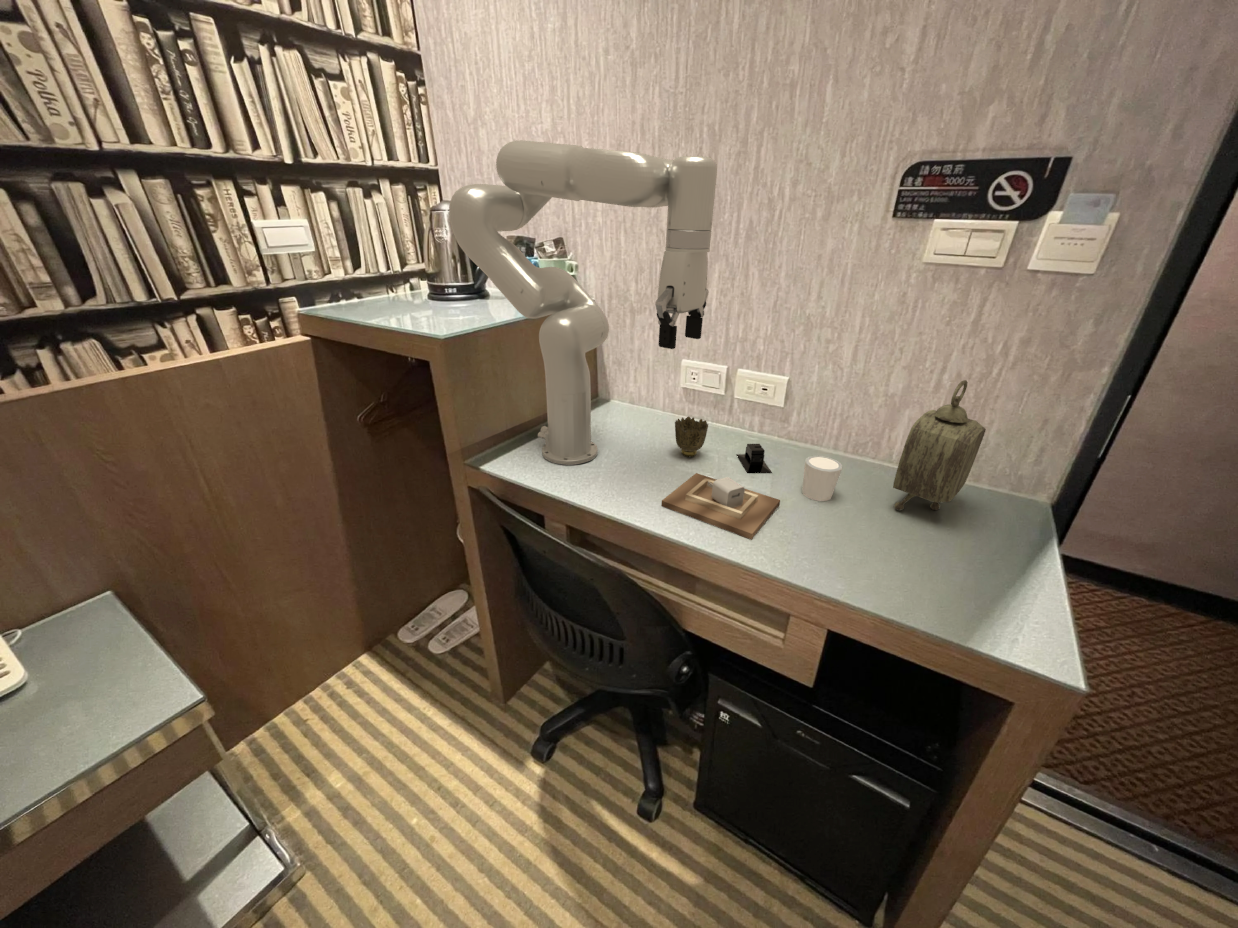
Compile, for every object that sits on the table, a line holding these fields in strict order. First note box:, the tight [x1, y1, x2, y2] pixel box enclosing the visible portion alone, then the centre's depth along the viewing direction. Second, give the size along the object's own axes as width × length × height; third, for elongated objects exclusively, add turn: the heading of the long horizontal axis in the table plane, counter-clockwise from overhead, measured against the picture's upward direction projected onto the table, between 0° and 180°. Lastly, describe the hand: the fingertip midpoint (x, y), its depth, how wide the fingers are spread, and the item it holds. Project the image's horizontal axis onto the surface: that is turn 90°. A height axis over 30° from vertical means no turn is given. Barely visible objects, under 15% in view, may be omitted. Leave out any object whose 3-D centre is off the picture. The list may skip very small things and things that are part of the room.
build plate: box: [735, 443, 773, 474], centre depth 112 cm, size 12×7×5 cm, turn 3°
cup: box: [674, 416, 709, 458], centre depth 114 cm, size 8×7×8 cm
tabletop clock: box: [892, 379, 986, 511], centre depth 92 cm, size 14×9×25 cm, turn 135°
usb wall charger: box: [708, 476, 746, 508], centre depth 96 cm, size 4×7×4 cm, turn 29°
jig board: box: [661, 472, 781, 540], centre depth 96 cm, size 18×14×2 cm
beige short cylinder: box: [801, 455, 843, 502], centre depth 100 cm, size 7×7×7 cm
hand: (680, 342), depth 93 cm, fingers open, 9 cm apart
